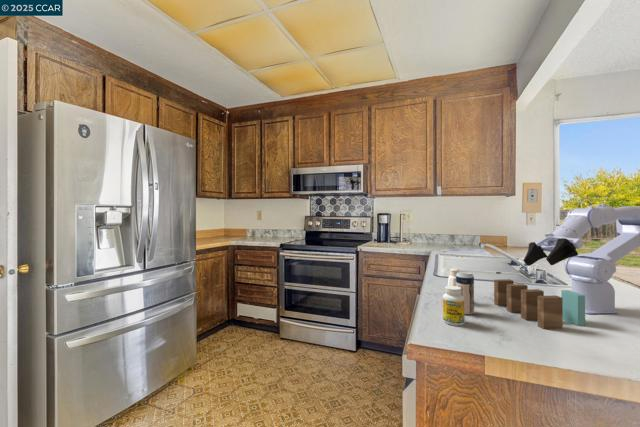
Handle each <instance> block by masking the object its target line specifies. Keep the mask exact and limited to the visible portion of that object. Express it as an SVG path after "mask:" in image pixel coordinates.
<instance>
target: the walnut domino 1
mask: <svg viewBox="0 0 640 427" xmlns="http://www.w3.org/2000/svg"><path fill="white" fill-rule="evenodd" d="M507 284H514V280H512V279H510V278H509V279H493V289H494V290H493V301H494V302H493V303H494V305H495V306H497V307H507Z"/></svg>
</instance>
